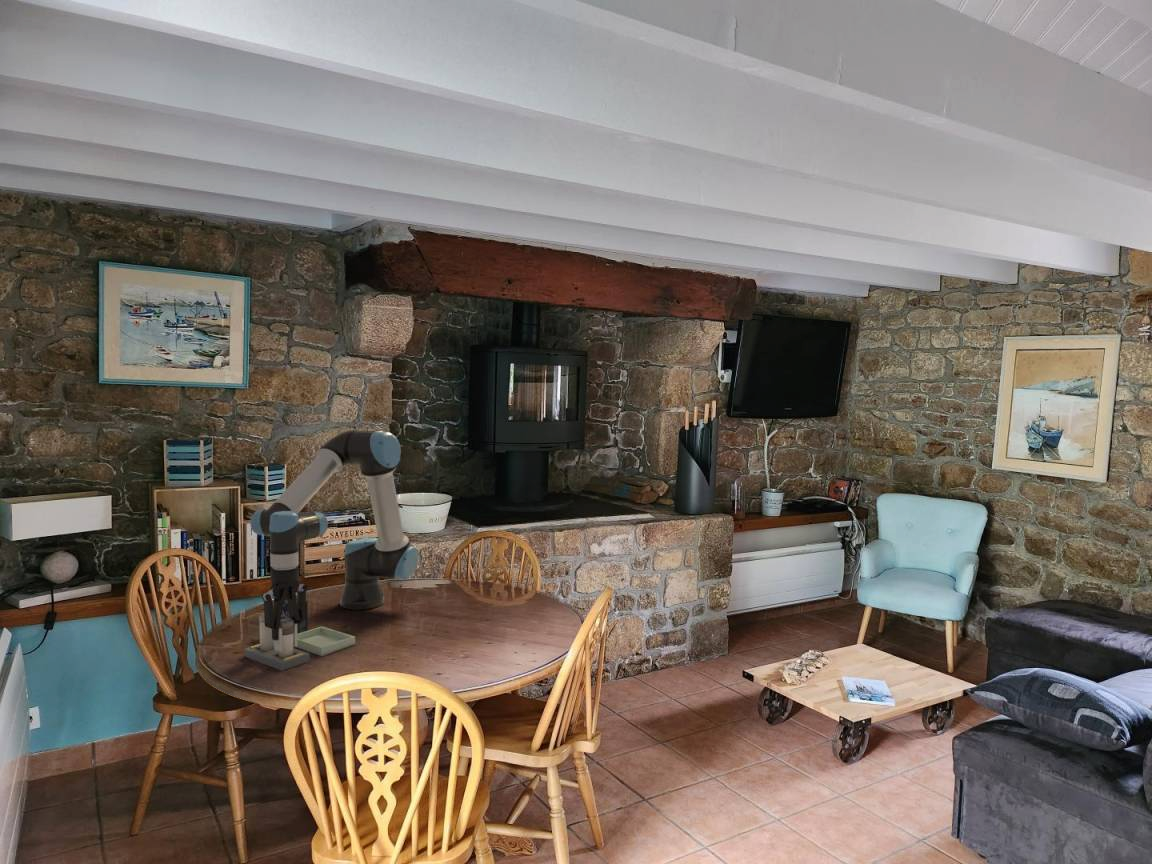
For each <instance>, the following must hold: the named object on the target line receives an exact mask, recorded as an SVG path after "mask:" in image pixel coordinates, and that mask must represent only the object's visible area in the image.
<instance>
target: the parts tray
mask: <svg viewBox="0 0 1152 864" xmlns="http://www.w3.org/2000/svg"><path fill="white" fill-rule="evenodd" d="M297 645H298V646H297V647H296V649H299V650H302V651H303V650H304V652H307V653H311V654H315V655H317V656H320V657H323V656H326V655H329V654H332V653H334V652H338V651H341V650H344V649H347V648H350V647H353V646H356V636H354V635H351V634H347V633H345V632H342V631H338V630H335V629H332V628H328V627H325V626H318V627H315V628H312V629H308V631H305V632H302V633H299V634H297Z"/></svg>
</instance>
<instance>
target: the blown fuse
mask: <svg viewBox="0 0 1152 864" xmlns="http://www.w3.org/2000/svg"><path fill="white" fill-rule="evenodd" d="M293 626H294V623H293V619H281V621H280V627H279V628H282V651H281V652H279V658H282V659H284V658H287V657H290V656H293V655H294V648H295V647H294V645H293Z"/></svg>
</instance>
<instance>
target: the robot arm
mask: <svg viewBox="0 0 1152 864" xmlns="http://www.w3.org/2000/svg"><path fill="white" fill-rule="evenodd" d="M401 449H402V448H401V445H400V442H399V440H398V438H397V437H396V436H395V435H394V434H393V433H391V432H389V431H382V430H376V431H374V430H355V429H353V430H347V431H346V430H345V431H344V432H341V433H339V434H337V435H335V436H334V437H332V438H331V439H329V440H328V441H326V442H325V443H324V444H323V445H322V446H321V447H320V448H319V449H318V450H317V451H316V453H315V458H314V459H313V460H312V461H311V462H310V463H309V464H308V466H306V468H305V469H303V471H302V472H301V473H300V474H299V475H298V476H297V477H296V478H295V480H293V481H292V483H291V484H290V485H289V486H288V487H287V488H286V489H285V490H284V491H283V492H282V493H281V494H280V495H279V496H278V497H277V499H275V501H274V502H273V503H272V504H271V505H270V506H269V508H267V509H266V508H264V509H258V510H256V511H255V512H253V514H252V516H251V517H250V528H251V530H252V532H253V533H255V534H256V535H260V536H264V537H269V553H270V554H269V555H270V557H269V558H270V559H269V562H270V567H271V568H270V575H269V576H270V582H271V586H270V588H269V591H267V592H266V593H265V592H263V593H261V595H260V596H261V598H262V601H263V613H264V619H265V627H267V628H270V629H272V639H273V640H274V650H276V651H279V652H281V651H282V628H279V627H280V621H281V615H282V609H283V605H284V603H285V600H287V602H288V606H289V611H290V615H291V619H293V623H294V626H293V645H294V648H297V646H298V645H297V634H298V633H299V624H301V623H302V621H301V620H302V619H305V618H306V601H307V591H308V588H309V586H308V585H307V584H304V583H300V582H299V578H300V567H299V565H300V556H299V555H300V554H299V553H300V551H299V549H300V547H299V546H300V545H299V543H301V542H304V541H305V542H306V541H308V540H312V539H316V538H318V537H320V536H323V535H325V533H326V532H327V530H328V524H329V523H328V519H327V517H326V515H325V514H324V513H322V512H320V511H310V512H308V513H307V512H306V513H303V512H301V511H302V510H303V508H305V506H306V505H307V504H308V503H309V502H310V501H311V499H312V498H313V497H314V496H315V495H316V494H317V493H318V492H319V490H320V489H321V488H322V487H323V486H324V485H325V484H326V483H327V481H329V479H330V478H331V477H332V476H333V474H335V473H339V472H340V471H341V470H342V469H343V468H344V467H346V466H359V470H360V474H361V476H363V477H365V478H366V481H367V486H368V487H367V488H368V492H369V498H370V503H371V508H372V512H373V518H374V523H375V528H376V533H377V537H363V538H359V539H354V540H351V541H348V542H346V544H345V545H344V554H343V555H344V580H345V581H344V586H343V590H342V594H341V596H340V601H339V603H340V604H339V605H340V607H341V608H344V609H346V610H348V609H349V610H368V609H373V608H377V607H380V606H382V605H384V603H385V595H384V593H383V588H382V586H381V584H380V578H384V579H385V578H386V579H392V580H393V579H394V580H395V581H396V580H407V579H410V578H411V577H412V576H413V575H414V573H415V572H416V570H417V567H418V564H419V559H420V557H419V556H420V555H419V550H418V548H417V547H416V546H413V545H411V543H410V540H409V537H408V536H407V535H405V534H404V530H403V524H402V519H401V514H400V507H399V502H398V497H397V496H398V495H397V491H396V486H395V485H396V484H395V479H394V472H395V470H397V466H398V464H399V463H400V460H401V454H402V450H401ZM279 600H280V601H279ZM296 600H297V603H296Z"/></svg>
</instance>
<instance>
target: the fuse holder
mask: <svg viewBox="0 0 1152 864" xmlns="http://www.w3.org/2000/svg"><path fill="white" fill-rule="evenodd" d="M243 652H244V655H243V657H245V658H247V659H250V660H252V661H255V662H258V663H261V664H262V665H266V666H268V667H271V668H274V669H276V670H279V671H281V672H282V671H284V670H288V669H290V668H291V669H292V668H293V667H296V666H299V665H303V664H305V663H308V662H310V661H311V660H310V659H311V658H310V656H311V655H310V652H307V651H305V650H304V651H303V650H302V649H299V648H296V647H294V655H293V656H290V657H287V658H284V659H282V658H279V651H276V650H270V651H267V652H263V651H260V643H258V644H254V645H252V646H249V647H247V648H244V649H243Z"/></svg>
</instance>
